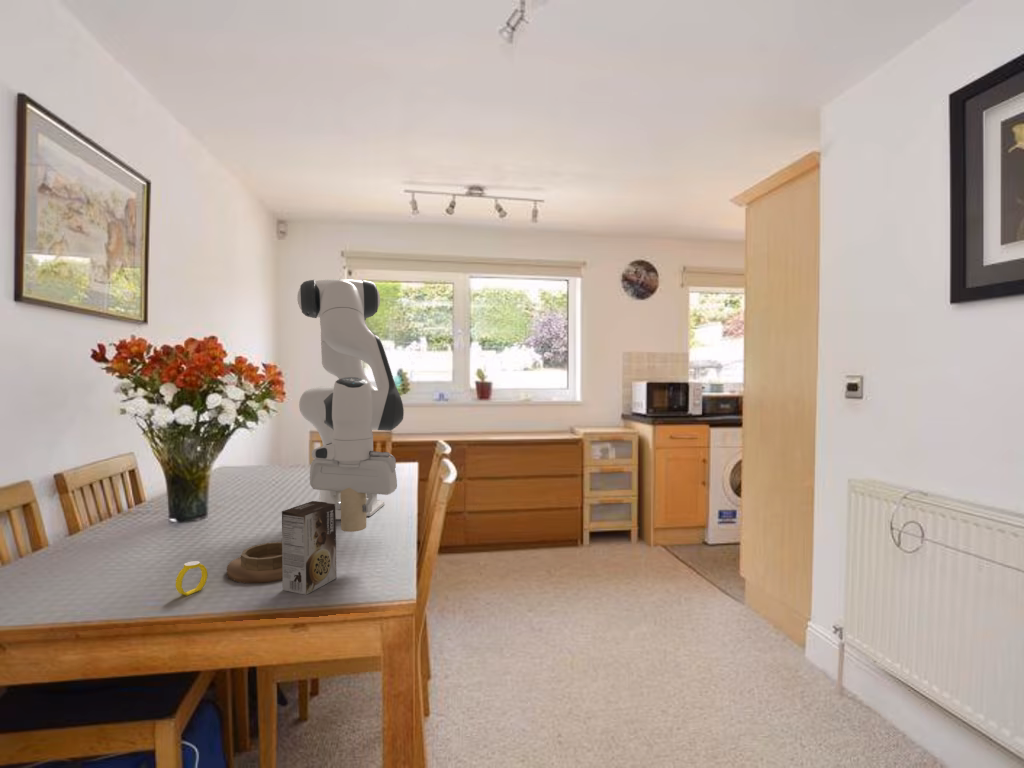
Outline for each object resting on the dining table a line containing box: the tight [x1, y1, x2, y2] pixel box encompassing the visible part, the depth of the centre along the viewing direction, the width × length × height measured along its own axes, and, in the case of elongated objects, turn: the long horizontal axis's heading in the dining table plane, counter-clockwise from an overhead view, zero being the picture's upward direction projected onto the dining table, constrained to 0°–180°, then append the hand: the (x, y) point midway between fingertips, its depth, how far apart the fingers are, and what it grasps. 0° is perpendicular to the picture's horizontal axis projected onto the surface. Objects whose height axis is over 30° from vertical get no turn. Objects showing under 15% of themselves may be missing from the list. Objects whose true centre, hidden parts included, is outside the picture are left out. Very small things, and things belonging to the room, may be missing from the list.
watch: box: [175, 560, 209, 597], centre depth 106 cm, size 6×3×6 cm, turn 159°
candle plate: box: [226, 541, 283, 584], centre depth 119 cm, size 17×17×4 cm
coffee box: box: [281, 500, 337, 596], centre depth 110 cm, size 9×6×16 cm
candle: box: [340, 488, 367, 533], centre depth 121 cm, size 6×6×10 cm
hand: (353, 510), depth 121 cm, fingers closed on candle, 5 cm apart
